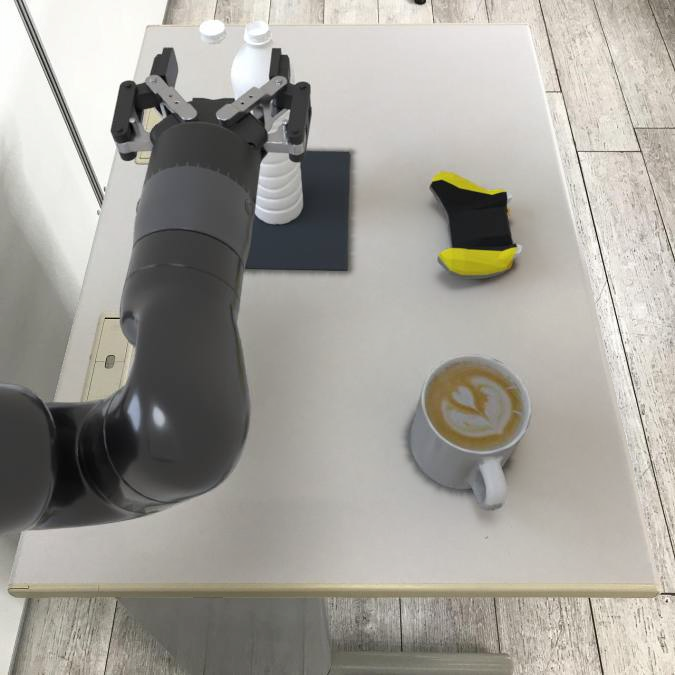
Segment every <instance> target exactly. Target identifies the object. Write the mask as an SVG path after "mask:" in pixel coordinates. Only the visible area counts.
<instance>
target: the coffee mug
mask: <svg viewBox="0 0 675 675" xmlns="http://www.w3.org/2000/svg"><path fill="white" fill-rule="evenodd" d="M531 419H532V400H531V396H530V393H529V391H528V388H527V386H526V385H525V383H524V381H523V380H522V378H521V377H520V376H519V375H518V374H517V373H516V372H515V370H513V369H512V368H511V367H510V366H508V365H507V364H505V363H504V362H502V361H500V360H498V359H496V358H493V357H490V356H487V355H482V354H478V353H465V354H459V355H454V356H451V357H448V358H446V359H445V360H442V361H441V362H439V363H438V364H437V365H436V366H435V367H433V368H432V370H431V371H430V372H429V373H428V375H427V376H426V378H425V380H424V382H423V385H422V388H421V391H420V395H419V399H418V403H417V406H416V411H415V414H414V418H413V421H412V424H411V429H410V436H409V438H410V439H409V443H410V449H411V453H412V456H413V458H414V461H415V462H416V464H417V465H418V467H419V469H420V470H421V471H422V472H423V473H424V474H425V475H426V476H427V477H428V478H430V479H431V480H432V481H434V482H436V483H438V484H439V485H441V486H444V487H447V488H450V489H456V490H470V489H472V492H473V494H474V498H475V500H476V502H477V504H478V506H479V507H480V509H482V510H483V511H487V512H489V511H490V512H491V511H492V512H493V511H496V510H499V509H501V508H503V506H504V505H505V503H506V500H507V497H508V496H507V495H508V488H507V487H508V486H507V482H506V476H505V473H504V471H503V467H504V465H505V464H506V462H507V461H508V460H509V458H510V457H511V455H512V453H513V452H514V450H515V449H516V447H518V445H519V444H520V442H521V440H522V438H523V437H524V436H525V434H526V432H527V430H528V428H529V426H530V423H531Z"/></svg>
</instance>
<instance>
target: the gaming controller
mask: <svg viewBox="0 0 675 675" xmlns="http://www.w3.org/2000/svg"><path fill="white" fill-rule="evenodd" d="M429 190H430V192H431V194H432V196H434V198H435V200H436V201H437V203H438V204H439V206H440V207H441V208H442V211H443V212H444V214H445V216H446V219H447V224H448V233H449V240H450V247H449V248H447V249H444V250H442V251H440V252H439V253H438V254H437V258H436V260H437V262H438V264H439V265H440V266H441V268H443V269H444V270H445V271H446V272H447V273H448V274H449V275H451V276H453V277H456V278H458V279H461V280H480V279H482V280H483V279H485V280H486V279H490V278H493V277H496V276H500V275H502V274H503V275H504V273H506V272H507V271H508V270H510V269H511V268H512V266H513V263H514V260H515V258H517V256H518V255H520V254H521V253H522V250H523V245H521V244H517V243H514V242H513V236H512V230H511V226H510V220H509V216H510V212H511V211H510V209H509V208H508V206H509V204H510V203H511V200H512V199H513V194H512V192H510V191H507V190H505V189H502V188H501V189H499V188H498V189H487V188H484V187H482V186H480V185H478V184H477V183H474V182H473V181H470V180H469V179H466V178H465V177H463V176H461V175H459V174H456V173H455V172H453V171H452V172H451V171H443V170H440V171H439V172H438V173H436V174H434V175H433V177H432V180H431V182H430V185H429Z"/></svg>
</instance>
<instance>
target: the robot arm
mask: <svg viewBox="0 0 675 675" xmlns="http://www.w3.org/2000/svg"><path fill="white" fill-rule="evenodd" d="M281 49H282V48H281V47H280V48H272V53H271V61H270V70H269V81H268V82H267V83H266V84H264V85H263V86H262V87H261V88H259V89H258V88H257V87H252V88H251V89H250V90H248V91H247V92H246V93H244V94H243V95H242V96H241V97H239V98H238V99H237V100H235V97H222V98H216V99H211V98H206V97H192V100H190V101H186V100H185V99H184V97H183V96H182V95H181V94H180V93H179V92H178V90H176V88H175V87H176V84H177V79H178V74H179V64H178V60H177V55H176V52H175V49H174V47H169V46H168V47H166V46H165V47H162V51H161V53H157V54H156V55H155V57H154V58H153V61H152V65H151V69H150V73H149V75H148V76H146V77H145V79H144V82H141V83H136V82H135V81H134V80H131V79H130V80H128V79H127V80H124V81H122V82H121V83H120V84H119V87H118V91H117V96H116V102H115V107H114V112H113V116H112V121H111V125H110V134H111V136H112V140H113V142H114V145H115V147H116V149H117V152H118V154H119V157H120V159H121V160H122V161H123V162H132V161H134V160H135V159H136V158H137V156H138V153H139V152H150V156H149V160H148V163H147V168H146V172H145V177H144V181H143V185H142V188H141V194H140V197H139V198H138V201H137V203H136V208H135V218H134V225H133V240H132V247H131V254H130V259H129V263H128V267H127V272H126V275H125V279H124V284H123V287H122V292H121V296H120V303H119V326H120V329H121V332H122V334H123V336H124V338H125V339H126V340H127V342H128V343H129V344H130V345H131V346H132V347H133V348H134V349H135V350H134V355H133V356H134V357H133V361H132V365H131V369H130V372H129V375H128V377H127V380H126V382H125V384H124V385H122V386H121V387H120V388H118V389H117V390H115V391H114V392H113V393H111V394H110V395H108V396H107V397H105V398H100V399H94V400H89V401H87V400H86V401H77V402H76V401H75V402H73V401H71V402H69V401H68V402H65V401H61V402H59V401H58V402H57V401H44V400H43V399H42V398H41V396H39V394H37V393H36V392H35V391H34V390H32V389H30V388H29V387H26V386H24V385H20V384H16V383H10V382H9V383H8V382H0V538H3V537H6V536H10V535H14V534H18V533H22V532H27V531H47V530H49V531H50V530H60V529H71V528H72V529H73V528H83V527H92V526H101V525H108V524H114V523H120V522H128V521H131V520H136V519H141V518H145V517H149V516H152V515H155V514H158V513H160V512H163V511H165V510H168V509H170V508H172V507H175V506H178V505H180V504H183V503H185V502H188V501H190V500H193V499H196V498H198V497H201V496H203V495H205V494H208V493H210V492H212V491H214V490H215V489H217V488H218V487H219V486H221V485H222V484H223V483H224V482H226V481H227V479H229V478H230V476H231V475H232V473H233V472H234V471H236V468H237V467H238V465H239V462H240V461H241V459H242V456H243V453H244V451H245V448H246V445H247V441H248V438H249V434H250V429H251V420H252V403H251V395H250V393H251V392H250V387H249V382H248V374H247V368H246V361H245V354H244V348H243V343H242V339H241V334H240V330H239V326H238V318H239V313H240V308H241V299H242V291H243V283H244V282H243V281H244V274H245V270H246V269H245V265H246V261H247V258H248V255H249V251H250V247H251V241H252V232H253V224H254V215H255V207H256V198H257V189H258V180H259V172H260V164H261V162H262V160H263V159H264V157H265V156H266V155H267V154H268V152H273V153H289V159H290V160H291V161H292V162H295V163H298V162H302V161H303V160H304V159H305V156H306V151H307V148H308V142H309V135H310V128H311V121H312V114H313V108H312V107H313V106H312V102H311V100H312V99H311V94H312V90H311V88H312V87H311V84H310V83H309V82H307V81H297V82H295V85H294V84H291V83H290V77H291V71H290V61H291V59H290V57H289V55H288V54H286V55H282V50H283V49H282V50H281ZM272 100H273V102H272V103H271V101H272ZM149 109H153V110H154V111H155V113H156V114H157V115H158V116H159V117H160V118H161V120H160V121H159V122H157V123H156V124H155V125H153V126H152V128H151V130H150V132H149V131H146V130H145V127H144V125H143V122H144V116H145V111H146V110H149ZM252 110H253V114H252V113H251V111H252ZM288 110H290V114H289V120H287V119H284V120H283V121H282V125H281V126H279V128H278V130H277V131H276V132H275V133H272V134H268V132H269V131H270V130H271V128H272V125H273V123H274V121H275V120H277V119H278V118H279V117H280V116H282V115H283V114H284V113H285V112H286V111H288Z"/></svg>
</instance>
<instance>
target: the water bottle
mask: <svg viewBox="0 0 675 675" xmlns="http://www.w3.org/2000/svg"><path fill="white" fill-rule="evenodd" d="M198 30H199V36H200V39H201V41H202V42H203V43H205V44H208V45H217V44H220V43H222V42H224V41H225V40H226V39H227V29H226V25H225V23H224V22H222V20H219V19H208V20H205V21H203V22H202V23H201V24H200V25H199V27H198ZM243 39H244V43H243V44H242V46H241V48H240V49H239V51H238V52H237V53H236V55H235V57H234V58H233V61H232V64H231V69H230V80H231V81H230V82H231V86H232V90H233V95H234V97H233V98H235V100H237V99H238V98H239V97H241V96H242V95H243V94H244V93H246V92H247V91H248V90H250V89H251V88H252V87H257V88H258V89H259V88H261V87H262V86H263V85H264V84H266V83H267V82H268V81H269V70H270V61H271V53H272V48H281V47H280V46H279V45H278V44H277V42H275V40H274V39H273V33H272V31H271V30H270V26H269V24H268V23H266V22H265V21H262V20H254V21H250V22H249V23H247V24H246V25H245V28H244V34H243ZM281 50H282V55H287V53H286V52H285V51H284V50H283V49H282V48H281ZM290 71H291V77H290V83H291V84H294V85H295V84H296V82H295V81H296V78H295V70H294V66H293V63H292V61H291V60H290ZM272 102H273V100H272V101H271V103H272ZM251 113H252V114H253V110H252V111H251ZM289 114H290V110H288V111H286V112H285V113H284V114H283V115H282V116H280V117H279V118H278V119H277V120H275V121H274V123H273V125H272V128H271V130H270V131H269V132H268V134H272V133H275V132H276V131H277V130H278V128H279V126H281V125H282V121H283V120H284V119H287V120H289ZM302 208H303V194H302V181H301V169H300V162H298V163H295V162H292V161H291V160H290V159H289V153H273V152H268V154H267V155H266V156H265V157H264V159H263V160H262V162H261V164H260V172H259V180H258V189H257V198H256V207H255V214H256V216H257V217H258V218H259V219H260V220H263V221H264V222H266V223H269V224H285V223H288V222H290V221H291V220H294V219H295V218H297V217H298V216H299V214H300V213H301V210H302Z"/></svg>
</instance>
